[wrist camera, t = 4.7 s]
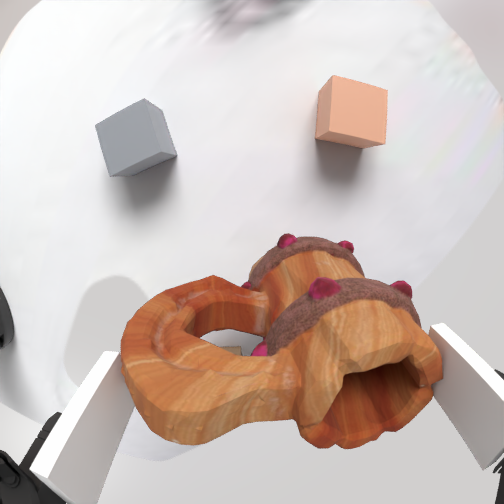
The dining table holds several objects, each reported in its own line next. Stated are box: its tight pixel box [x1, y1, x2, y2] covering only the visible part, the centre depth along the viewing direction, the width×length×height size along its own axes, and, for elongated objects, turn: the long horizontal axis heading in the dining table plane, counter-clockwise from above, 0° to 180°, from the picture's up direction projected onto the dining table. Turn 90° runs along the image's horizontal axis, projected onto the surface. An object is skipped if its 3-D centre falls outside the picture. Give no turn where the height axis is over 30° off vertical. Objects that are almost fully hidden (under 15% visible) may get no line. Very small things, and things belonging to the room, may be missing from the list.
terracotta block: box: [315, 75, 388, 148], centre depth 21 cm, size 5×5×5 cm
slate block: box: [95, 98, 177, 177], centre depth 22 cm, size 5×5×5 cm
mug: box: [121, 234, 443, 449], centre depth 15 cm, size 15×8×15 cm, turn 84°
